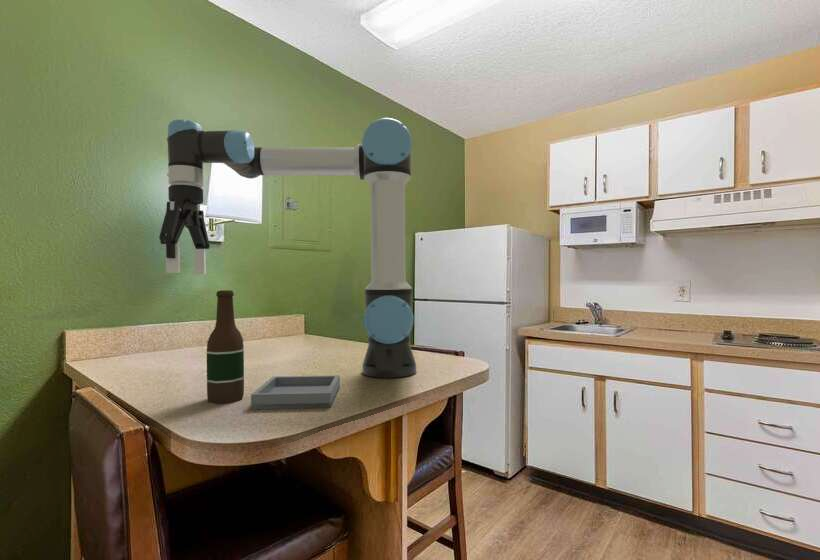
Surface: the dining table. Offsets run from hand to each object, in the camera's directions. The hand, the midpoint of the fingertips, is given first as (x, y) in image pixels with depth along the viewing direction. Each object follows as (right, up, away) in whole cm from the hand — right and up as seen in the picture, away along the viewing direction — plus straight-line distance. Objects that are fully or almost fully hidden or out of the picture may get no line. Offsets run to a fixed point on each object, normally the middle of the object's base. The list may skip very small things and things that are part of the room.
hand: (187, 273), depth 103 cm
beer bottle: (+14, -28, -10) cm, 33 cm away
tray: (+30, -28, -9) cm, 42 cm away
